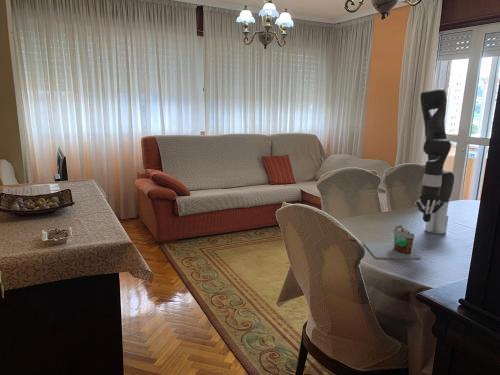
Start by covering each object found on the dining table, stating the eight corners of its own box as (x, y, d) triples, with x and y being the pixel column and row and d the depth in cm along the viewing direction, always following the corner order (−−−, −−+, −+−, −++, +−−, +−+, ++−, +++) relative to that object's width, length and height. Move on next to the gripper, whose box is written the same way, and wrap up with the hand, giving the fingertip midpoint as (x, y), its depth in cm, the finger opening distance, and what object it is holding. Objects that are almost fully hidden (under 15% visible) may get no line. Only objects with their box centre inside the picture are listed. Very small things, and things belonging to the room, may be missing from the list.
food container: (386, 245, 176) (388, 225, 173) (399, 244, 176) (401, 224, 174) (398, 255, 164) (401, 234, 161) (412, 255, 164) (414, 234, 162)
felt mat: (404, 244, 178) (404, 243, 178) (420, 259, 162) (421, 257, 162) (363, 243, 178) (363, 242, 178) (375, 258, 161) (375, 257, 161)
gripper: (441, 182, 167) (436, 219, 171) (413, 182, 167) (408, 218, 171) (450, 186, 160) (444, 224, 164) (420, 185, 159) (415, 223, 163)
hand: (426, 221), depth 167 cm, fingers closed
